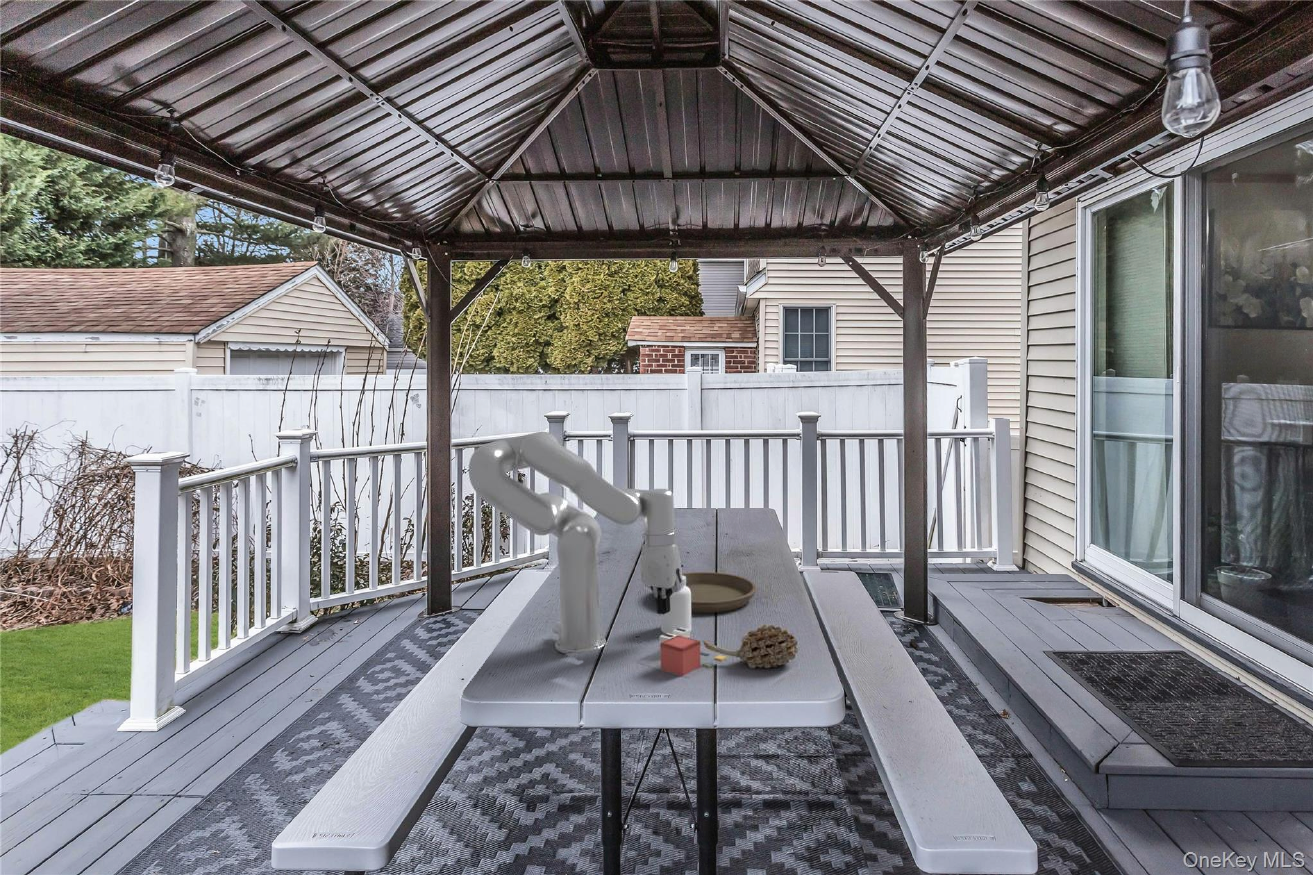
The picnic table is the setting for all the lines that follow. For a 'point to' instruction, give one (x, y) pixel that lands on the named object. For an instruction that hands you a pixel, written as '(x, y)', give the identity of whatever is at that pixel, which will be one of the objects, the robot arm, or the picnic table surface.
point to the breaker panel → (706, 658)
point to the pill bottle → (678, 610)
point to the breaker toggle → (682, 632)
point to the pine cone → (763, 647)
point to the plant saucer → (718, 591)
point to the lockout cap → (680, 655)
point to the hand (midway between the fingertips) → (663, 612)
